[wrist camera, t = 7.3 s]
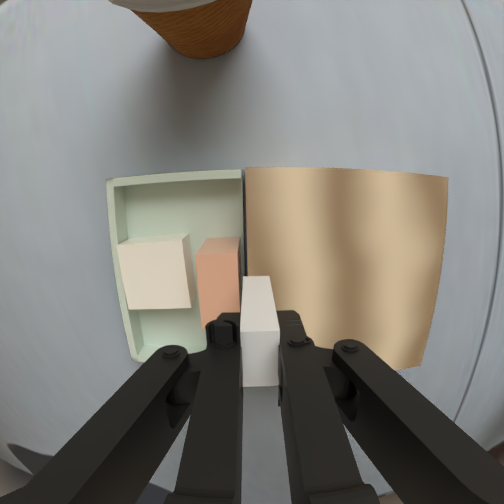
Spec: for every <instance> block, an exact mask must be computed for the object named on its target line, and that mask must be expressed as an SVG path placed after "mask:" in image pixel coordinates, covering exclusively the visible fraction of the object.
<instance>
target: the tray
mask: <svg viewBox="0 0 504 504" xmlns="http://www.w3.org/2000/svg"><path fill="white" fill-rule="evenodd" d="M106 188H107V205H108V218H109V229H110V238H111V247H112V255H113V263H114V270H115V277H116V283H117V289H118V295H119V301H120V306H121V312H122V317H123V322H124V327H125V331H126V336H127V340H128V345H129V349H130V353H131V357H132V361H134V362H145V361H146V360H147V359H148V358H149V357H150V356H151V355H152V354H153V353H154V352H155V351H156V350H158V349H159V348H161V347H163V346H166V345H179V346H182V347H184V348H186V349H187V352H188V354H190V353H196V352H200V351H203V350H205V349H206V347H207V340H206V330H202V324H201V314H200V305H199V294H198V283H197V272H196V259H195V254H196V253H197V251H198V250H199V248H200V247H201V245H202V244H203V243H204V241H205V240H206V238H224V237H240V250H241V275H242V289H243V276H245V262H244V226H243V187H242V170H241V169H233V170H209V171H191V172H176V173H163V174H152V175H141V176H131V177H122V178H113V179H106ZM185 233H189V237H190V246H191V255H192V263H193V271H194V278H195V286H196V293H197V296H196V298H195V300H194V303H193V305H192V307H191V308H174V309H129V308H128V304H127V299H126V295H125V290H124V285H123V280H122V275H121V269H120V264H119V258H118V252H117V246H116V245H118V244H120V243H122V242H124V241H125V240H127V239H129V238H140V237H150V236H162V235H173V234H185Z"/></svg>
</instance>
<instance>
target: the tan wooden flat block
mask: <svg viewBox="0 0 504 504" xmlns="http://www.w3.org/2000/svg"><path fill="white" fill-rule="evenodd" d="M245 184H246V226H247V265H248V276H269V277H270V282H271V287H272V292H273V298H274V303H275V308H276V311H280V310H294V311H296V312H297V313H298V314H299V315H300V318H301V320H302V323H303V326H304V329H305V332H306V335H307V336H308V337H310V338H311V339H312V340H313V341H314V344H315V346H318V347H321V348H328V349H333V347H334V344H335V343H336V342H337V341H340V340H344V339H354V340H357V341H360V342H362V343H364V344H365V345H366V346H367V347H368V348H369V349H371V350H372V351H373V352H374V353H375V354H376V355H377V356H379V357H380V358H381V359H382V360H383V361H384V362H386V363H387V364H388V365H389V366H390V367H391V368H392V369H393V370H401V369H406V368H411V367H416V366H420V365H421V362H422V358H423V355H424V351H425V347H426V343H427V339H428V335H429V331H430V327H431V323H432V318H433V314H434V309H435V304H436V299H437V293H438V287H439V281H440V275H441V268H442V261H443V253H444V244H445V234H446V222H447V205H448V177H441V176H433V175H424V174H414V173H404V172H392V171H379V170H363V169H343V168H313V167H250V168H245ZM278 384H279V382H278Z"/></svg>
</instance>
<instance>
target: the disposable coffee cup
mask: <svg viewBox="0 0 504 504" xmlns="http://www.w3.org/2000/svg"><path fill="white" fill-rule="evenodd" d="M109 1H110V2H111V3H113V4H115V5H118V6H121V7H124V8H128V9H130V10H131V11H132V12H134V13H135V14H136V15H138V17H140V18H141V19H142V20H143V21H144V22H146V24H148V25H149V26H150V27H151V28H153V30H155V31H156V32H157V33H158V34H159V35H160V36H161V37H163V39H165V40H166V41H167V42H168V43H169V44H170V45H171V46H172V47H173V48H174V49H175V50H176V51H178V52H179V53H180V54H182V55H184V56H187V57H190V58H197V59H206V58H211V57H216V56H219V55H221V54H224V53H226V52H228V51H229V50H230V49H232V48H233V47H234V46H235V45H237V44H238V43H239V41H240V39H241V38H242V36H243V34H244V31H245V26H246V22H247V18H248V14H249V11H250V8H251V4H252V0H109Z"/></svg>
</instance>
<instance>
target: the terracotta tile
mask: <svg viewBox="0 0 504 504" xmlns="http://www.w3.org/2000/svg"><path fill="white" fill-rule="evenodd" d="M195 259H196V272H197V283H198V294H199V305H200V314H201V324H202V330H205V326H206V324H207V323H209V322H210V321H212V320H216V319H217V317H218V316H219V315H220V314H221V313H224V312H241V305H242V275H241V250H240V237H224V238H206V240H205V241H204V243H203V244H202V245H201V247H200V248H199V250H198V251H197V253H196V254H195Z"/></svg>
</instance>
